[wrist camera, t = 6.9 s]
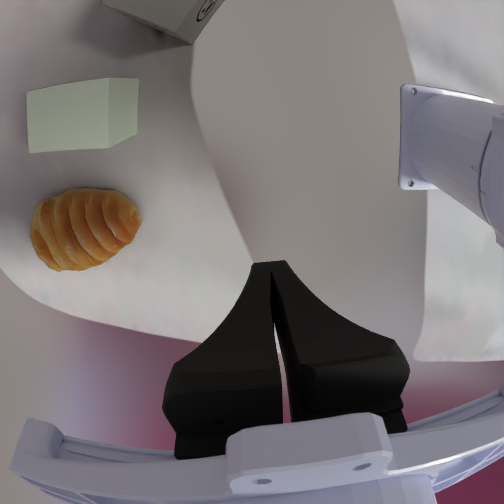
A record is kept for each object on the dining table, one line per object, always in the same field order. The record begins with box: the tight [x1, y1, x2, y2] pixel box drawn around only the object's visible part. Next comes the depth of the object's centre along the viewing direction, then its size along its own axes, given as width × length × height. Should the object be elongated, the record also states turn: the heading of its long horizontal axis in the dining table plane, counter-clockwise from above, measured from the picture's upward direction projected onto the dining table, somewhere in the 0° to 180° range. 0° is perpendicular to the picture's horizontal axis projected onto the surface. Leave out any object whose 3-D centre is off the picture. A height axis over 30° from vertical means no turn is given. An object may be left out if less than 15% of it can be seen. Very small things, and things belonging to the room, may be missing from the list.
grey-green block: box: [27, 78, 139, 153], centre depth 16 cm, size 6×4×5 cm, turn 85°
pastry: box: [30, 188, 142, 271], centre depth 21 cm, size 9×7×4 cm
